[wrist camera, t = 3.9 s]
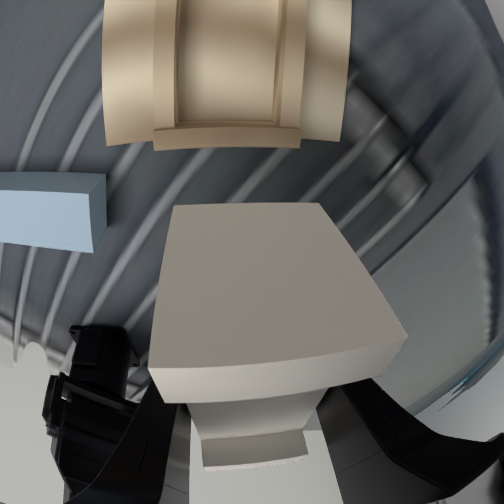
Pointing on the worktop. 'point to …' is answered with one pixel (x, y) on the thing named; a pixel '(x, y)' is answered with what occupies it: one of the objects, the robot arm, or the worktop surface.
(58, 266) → the worktop surface
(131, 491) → the robot arm
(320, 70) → the jig
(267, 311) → the white notched block
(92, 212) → the blue-grey rectangular block
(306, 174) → the worktop surface
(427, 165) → the worktop surface
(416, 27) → the worktop surface
